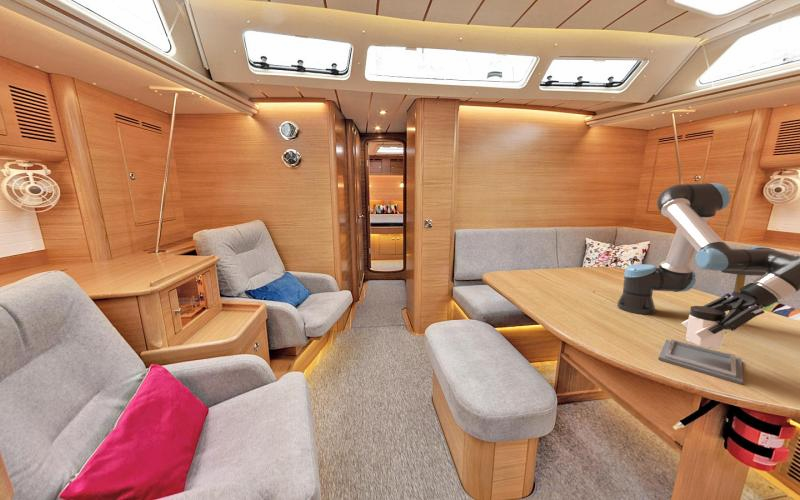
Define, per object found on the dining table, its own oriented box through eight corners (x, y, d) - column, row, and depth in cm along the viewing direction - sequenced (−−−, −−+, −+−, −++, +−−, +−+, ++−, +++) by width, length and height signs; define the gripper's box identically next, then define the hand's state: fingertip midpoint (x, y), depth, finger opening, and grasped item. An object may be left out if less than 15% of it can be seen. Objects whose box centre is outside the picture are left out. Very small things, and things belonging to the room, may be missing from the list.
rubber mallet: (716, 322, 127) (726, 258, 122) (710, 316, 133) (720, 255, 128) (758, 328, 120) (770, 261, 115) (749, 322, 126) (761, 258, 122)
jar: (718, 351, 90) (723, 316, 89) (683, 341, 97) (687, 309, 95) (723, 343, 95) (728, 310, 93) (690, 335, 102) (694, 303, 100)
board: (658, 359, 99) (658, 357, 99) (666, 341, 111) (666, 339, 111) (742, 384, 84) (743, 381, 84) (740, 361, 97) (741, 358, 96)
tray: (665, 357, 98) (665, 354, 98) (671, 342, 109) (671, 339, 108) (735, 377, 86) (736, 373, 86) (734, 358, 97) (735, 355, 96)
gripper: (806, 311, 78) (720, 353, 87) (750, 290, 97) (684, 327, 106) (783, 291, 80) (700, 335, 88) (732, 274, 98) (668, 312, 107)
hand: (691, 331), depth 97 cm, fingers closed on jar, 8 cm apart
